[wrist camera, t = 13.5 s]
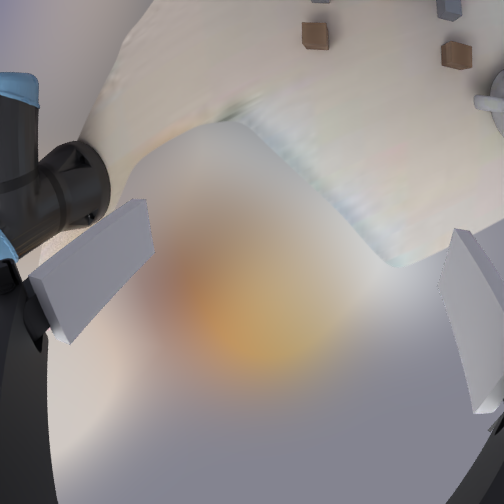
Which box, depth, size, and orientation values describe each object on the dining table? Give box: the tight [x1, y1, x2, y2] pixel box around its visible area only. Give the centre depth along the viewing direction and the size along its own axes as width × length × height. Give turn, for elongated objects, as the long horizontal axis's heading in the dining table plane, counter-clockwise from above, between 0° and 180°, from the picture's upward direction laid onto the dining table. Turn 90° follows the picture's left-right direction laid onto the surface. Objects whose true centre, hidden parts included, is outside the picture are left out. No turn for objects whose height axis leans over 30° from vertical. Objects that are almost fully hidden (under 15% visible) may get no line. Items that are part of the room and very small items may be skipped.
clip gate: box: [302, 22, 472, 70], centre depth 26 cm, size 18×2×4 cm, turn 91°
